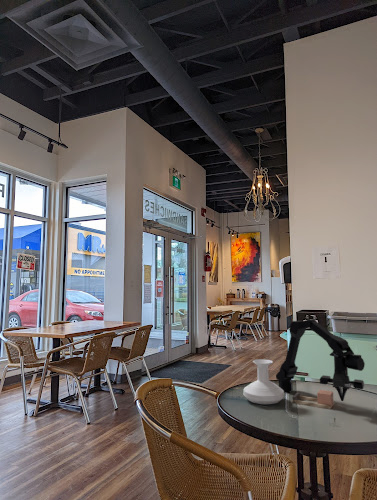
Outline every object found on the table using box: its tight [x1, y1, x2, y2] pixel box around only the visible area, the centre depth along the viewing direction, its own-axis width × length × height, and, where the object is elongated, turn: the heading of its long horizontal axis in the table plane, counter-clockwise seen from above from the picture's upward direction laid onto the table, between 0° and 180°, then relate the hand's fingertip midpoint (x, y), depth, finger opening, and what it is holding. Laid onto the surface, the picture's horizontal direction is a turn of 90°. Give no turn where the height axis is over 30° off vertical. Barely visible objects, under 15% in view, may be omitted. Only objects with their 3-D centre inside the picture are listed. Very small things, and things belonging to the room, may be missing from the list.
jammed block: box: [316, 389, 335, 409], centre depth 174 cm, size 6×6×6 cm
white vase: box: [242, 358, 285, 405], centre depth 182 cm, size 20×20×19 cm
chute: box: [291, 391, 332, 410], centre depth 177 cm, size 18×9×3 cm, turn 57°
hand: (342, 400), depth 170 cm, fingers closed
